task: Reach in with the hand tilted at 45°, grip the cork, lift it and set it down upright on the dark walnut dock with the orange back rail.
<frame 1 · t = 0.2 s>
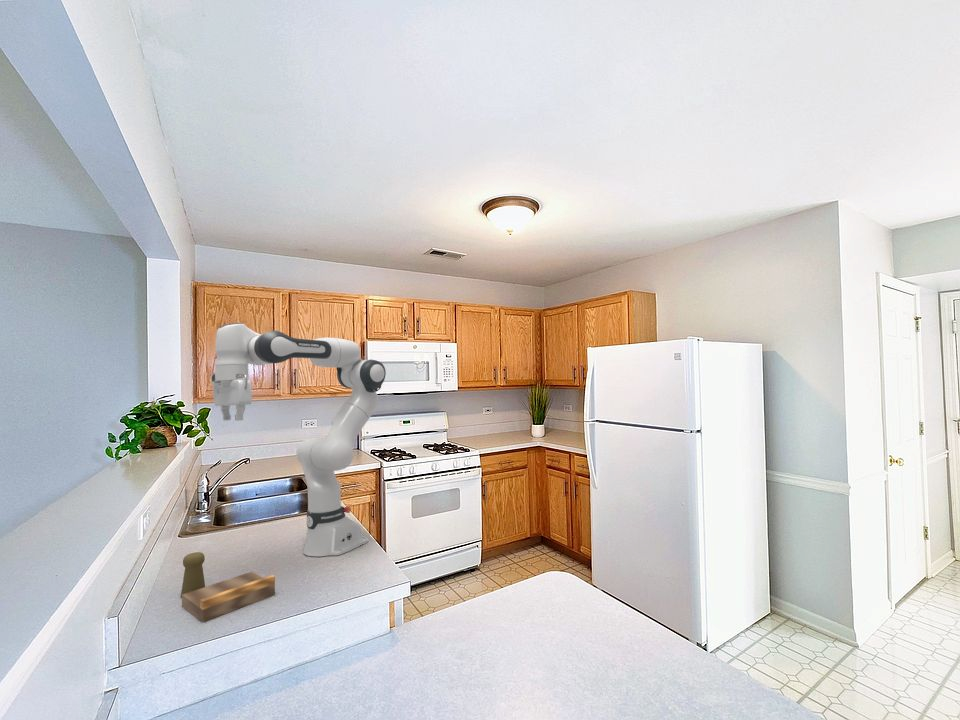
hand: (232, 420, 137), 48 cm above the countertop, tool pointing down, fingers open, 8 cm apart
dock: (229, 600, 121), on the countertop
cork: (193, 594, 126), on the countertop
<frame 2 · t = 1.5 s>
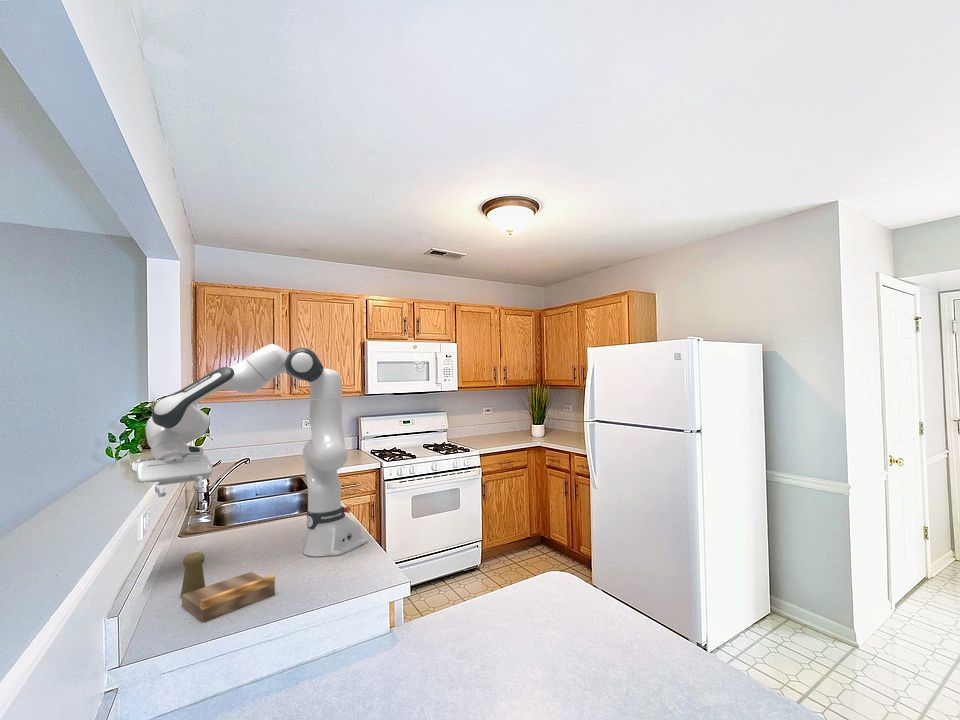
hand: (180, 492, 134), 27 cm above the countertop, tool tilted 45°, fingers open, 8 cm apart
nothing on the countertop moved.
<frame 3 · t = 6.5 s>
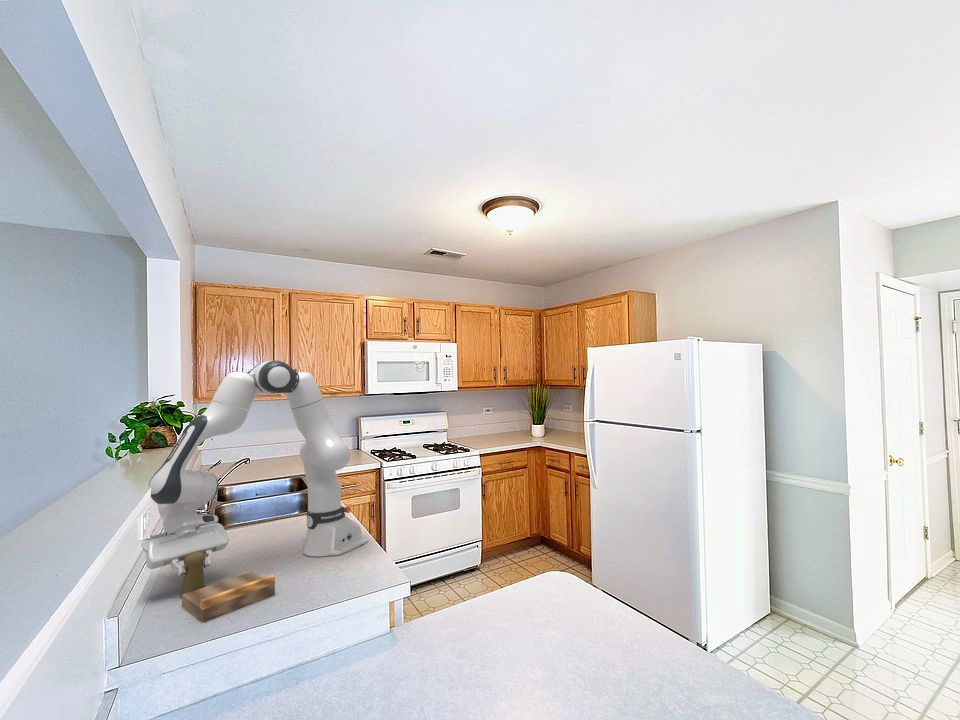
hand: (195, 570, 126), 6 cm above the countertop, tool tilted 45°, fingers closed on cork, 5 cm apart
cork: (193, 594, 126), on the countertop, touching gripper
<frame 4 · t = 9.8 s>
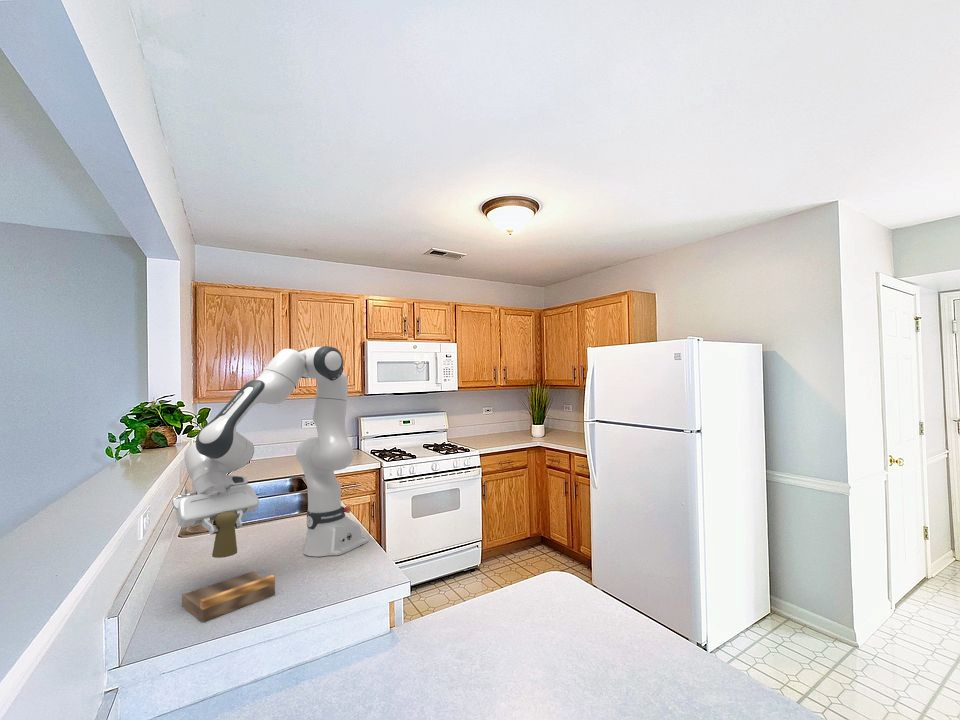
hand: (227, 529, 122), 19 cm above the countertop, tool tilted 45°, fingers closed on cork, 5 cm apart
cork: (224, 554, 122), point 12 cm above the countertop, touching gripper
when the fingers open (11 cm above the countertop, at t = 12.8 s): cork drops 1 cm, resting on dock.
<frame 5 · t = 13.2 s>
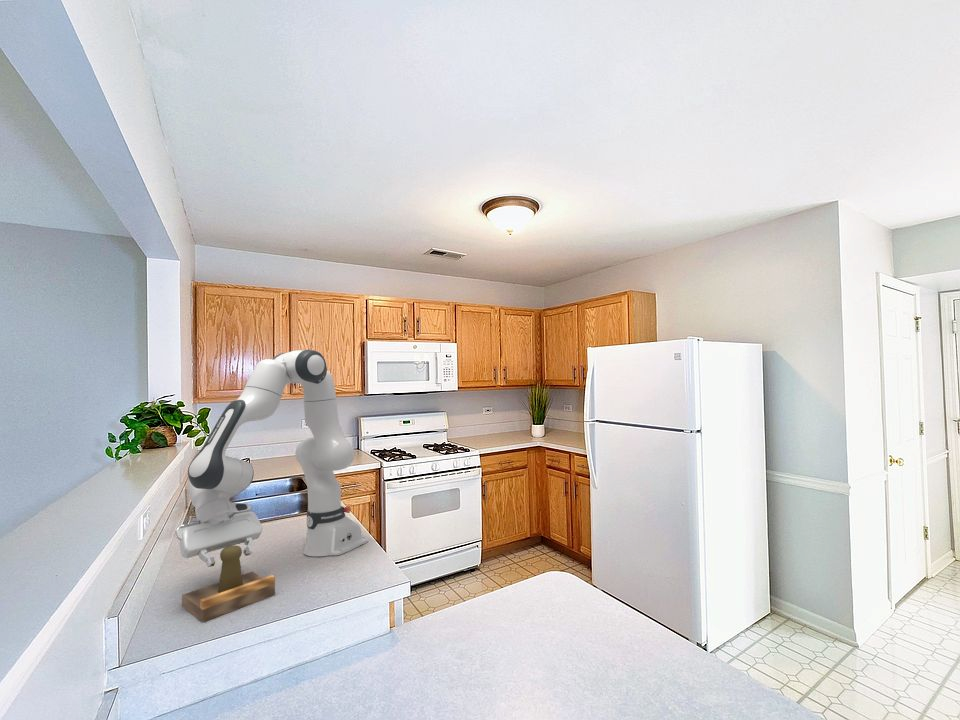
hand: (230, 559, 121), 11 cm above the countertop, tool tilted 45°, fingers open, 8 cm apart
cork: (230, 589, 121), point 3 cm above the countertop, touching dock
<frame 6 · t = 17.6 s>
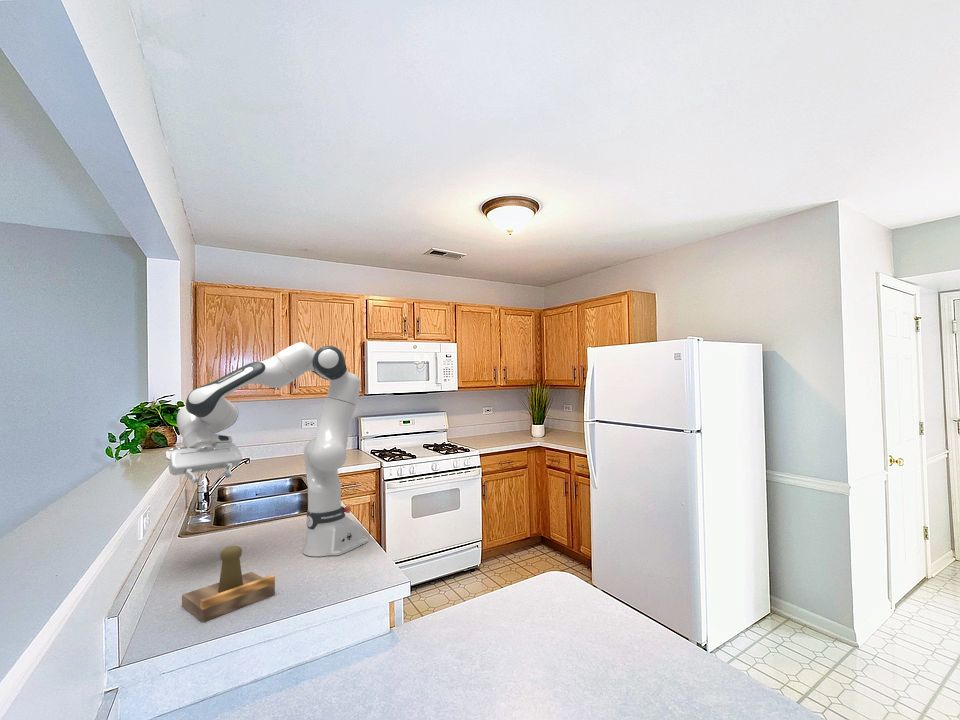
hand: (212, 479, 140), 29 cm above the countertop, tool tilted 45°, fingers open, 8 cm apart
nothing on the countertop moved.
at the end: cork inside the target area on the dock (0.5 cm from its centre), point 2.8 cm above the dock's base; cork tilted 0°; the gripper is holding nothing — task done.
